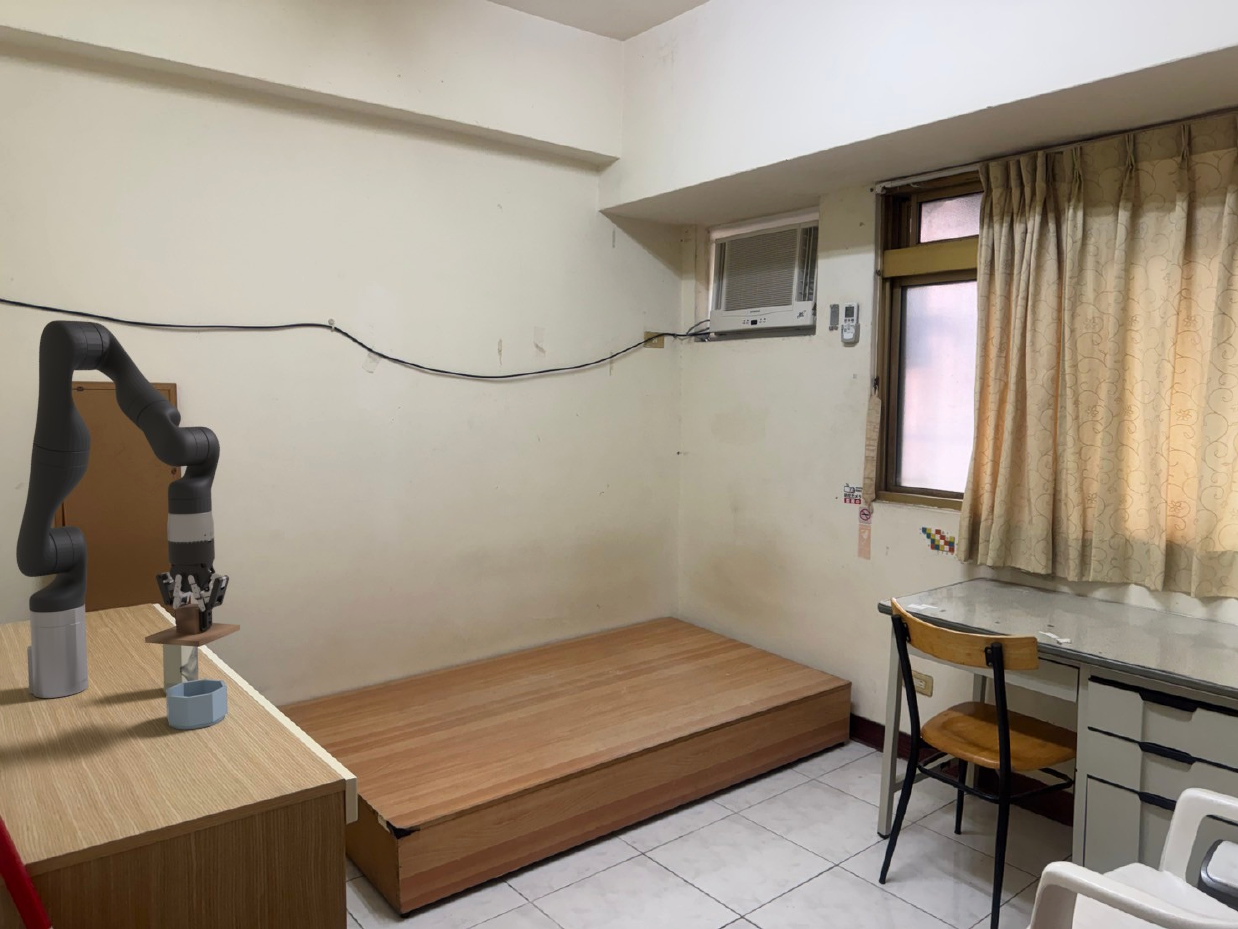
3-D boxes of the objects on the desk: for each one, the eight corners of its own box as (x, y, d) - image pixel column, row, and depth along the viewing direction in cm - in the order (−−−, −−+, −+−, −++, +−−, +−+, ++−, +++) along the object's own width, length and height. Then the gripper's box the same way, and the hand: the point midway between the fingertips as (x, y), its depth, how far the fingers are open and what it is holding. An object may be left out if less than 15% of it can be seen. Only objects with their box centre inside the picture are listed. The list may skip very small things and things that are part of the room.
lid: (145, 642, 147) (144, 612, 147) (189, 626, 158) (188, 598, 158) (199, 646, 145) (198, 616, 145) (240, 630, 156) (239, 601, 155)
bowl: (155, 727, 149) (154, 695, 149) (193, 708, 159) (192, 677, 158) (202, 732, 147) (201, 699, 147) (237, 712, 157) (236, 681, 156)
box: (182, 695, 165) (180, 632, 164) (163, 693, 166) (160, 630, 165) (200, 686, 171) (198, 625, 170) (181, 684, 171) (179, 623, 170)
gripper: (141, 538, 148) (145, 632, 149) (211, 541, 145) (214, 637, 146) (172, 531, 155) (175, 621, 157) (239, 535, 152) (241, 626, 154)
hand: (194, 628), depth 151 cm, fingers closed on lid, 4 cm apart
